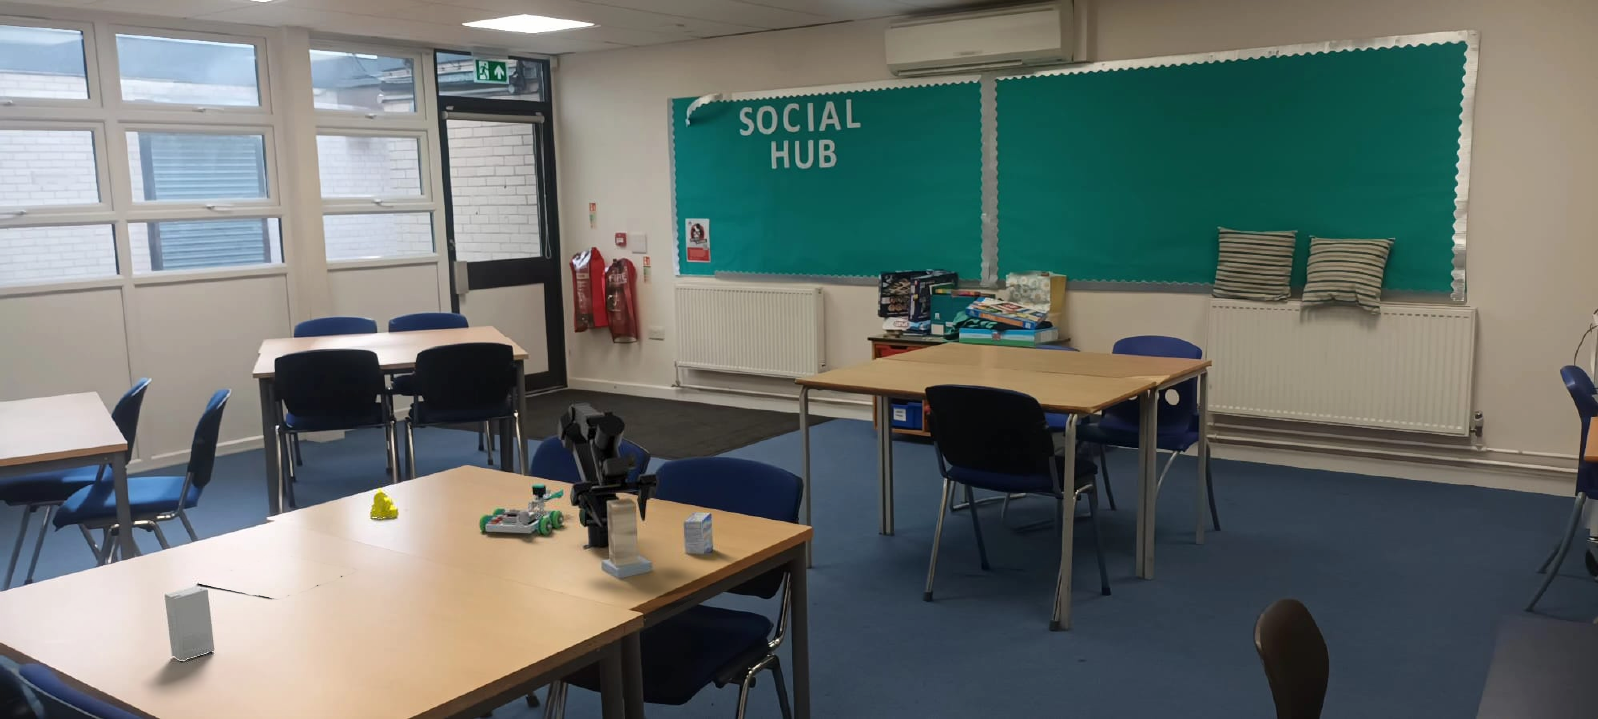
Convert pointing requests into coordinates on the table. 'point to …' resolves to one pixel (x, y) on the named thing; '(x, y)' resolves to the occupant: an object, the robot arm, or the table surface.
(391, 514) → the yellow lumpy cone
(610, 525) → the tall beech block
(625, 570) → the tower top slab
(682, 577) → the table surface
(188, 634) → the skincare box
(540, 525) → the robot kit
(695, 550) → the medicine box
